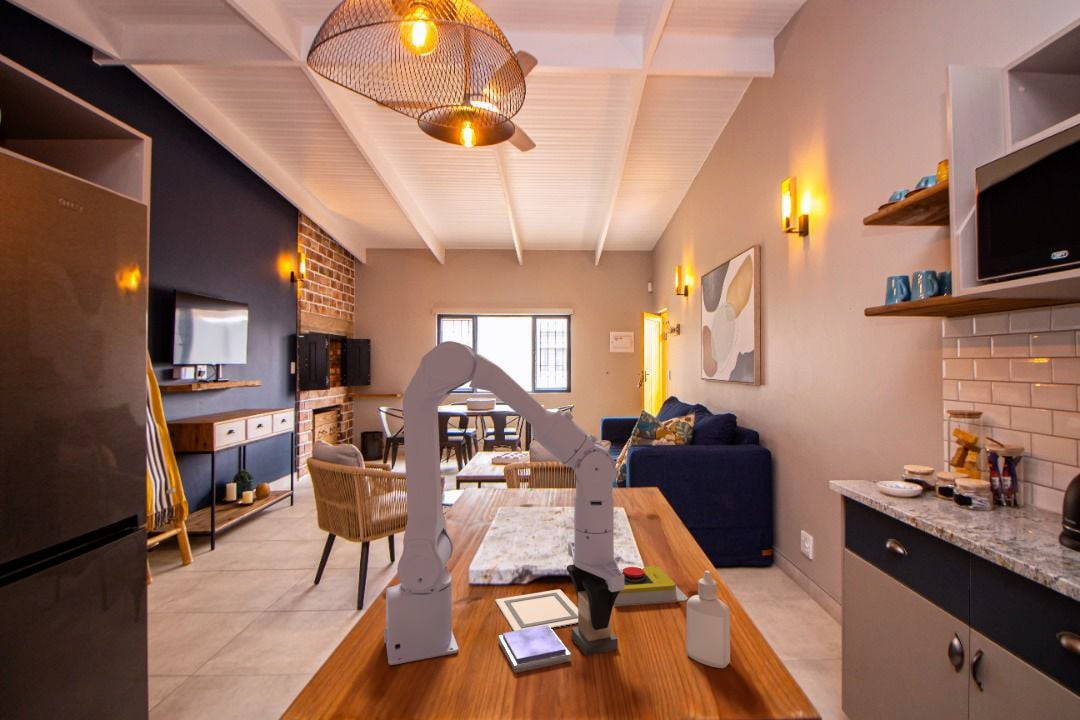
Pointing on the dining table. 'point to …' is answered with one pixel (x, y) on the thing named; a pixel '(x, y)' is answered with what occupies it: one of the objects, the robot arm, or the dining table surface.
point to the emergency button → (647, 587)
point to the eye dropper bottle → (708, 626)
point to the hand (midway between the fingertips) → (594, 621)
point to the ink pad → (533, 648)
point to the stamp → (591, 631)
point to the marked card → (538, 610)
